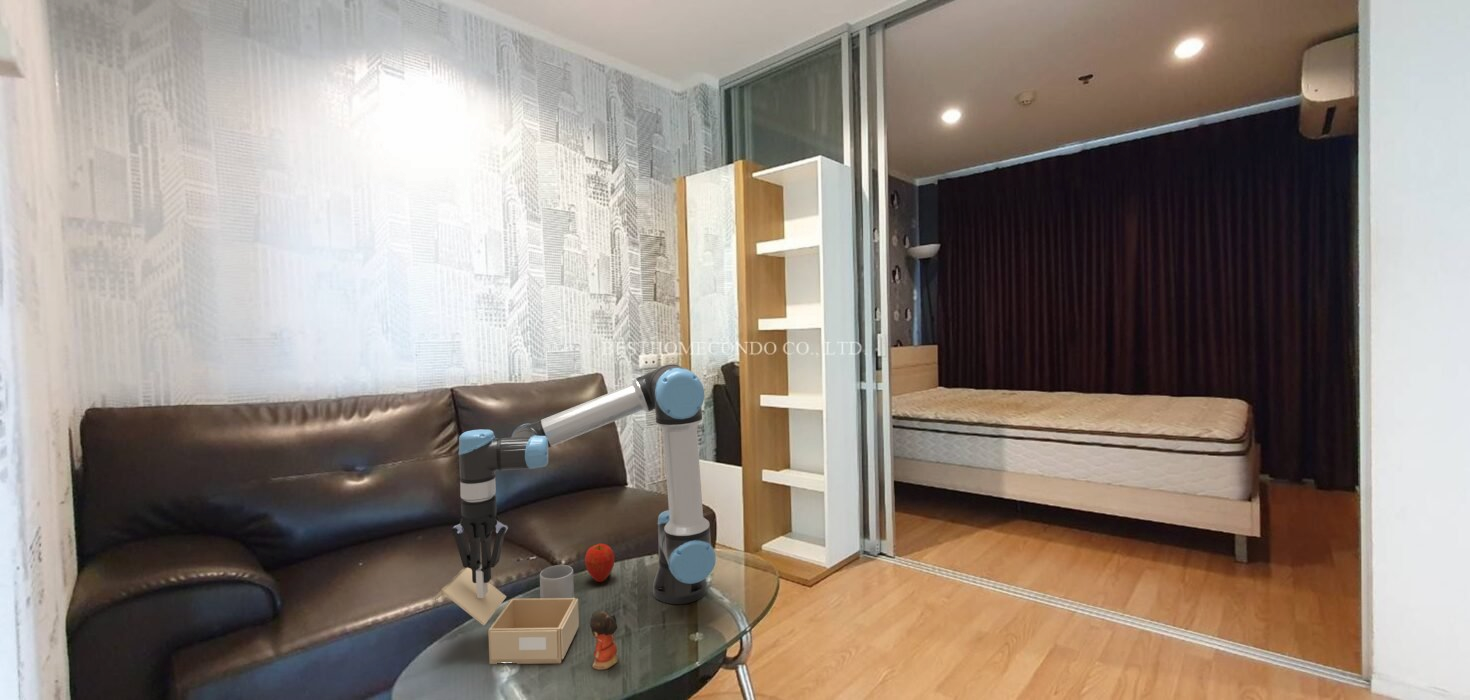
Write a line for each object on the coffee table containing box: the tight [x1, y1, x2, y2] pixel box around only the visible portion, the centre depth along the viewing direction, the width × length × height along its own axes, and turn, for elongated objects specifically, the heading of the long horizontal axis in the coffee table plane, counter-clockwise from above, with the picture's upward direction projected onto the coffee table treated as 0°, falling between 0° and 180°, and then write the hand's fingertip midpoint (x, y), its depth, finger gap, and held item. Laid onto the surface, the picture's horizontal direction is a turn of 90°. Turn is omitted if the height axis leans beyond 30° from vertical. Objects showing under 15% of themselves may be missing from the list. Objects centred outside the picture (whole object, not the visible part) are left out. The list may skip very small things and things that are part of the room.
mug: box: [539, 564, 575, 598], centre depth 155 cm, size 12×8×11 cm
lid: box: [433, 567, 507, 626], centre depth 137 cm, size 12×13×3 cm
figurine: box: [589, 610, 619, 670], centre depth 131 cm, size 6×6×12 cm
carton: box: [488, 597, 580, 665], centre depth 138 cm, size 16×15×8 cm
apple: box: [584, 543, 615, 583], centre depth 171 cm, size 9×8×11 cm
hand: (482, 595), depth 137 cm, fingers closed
